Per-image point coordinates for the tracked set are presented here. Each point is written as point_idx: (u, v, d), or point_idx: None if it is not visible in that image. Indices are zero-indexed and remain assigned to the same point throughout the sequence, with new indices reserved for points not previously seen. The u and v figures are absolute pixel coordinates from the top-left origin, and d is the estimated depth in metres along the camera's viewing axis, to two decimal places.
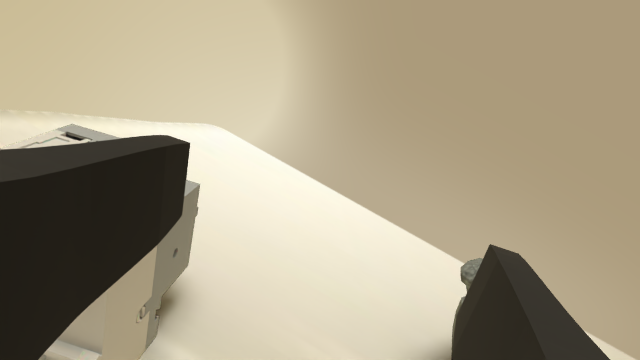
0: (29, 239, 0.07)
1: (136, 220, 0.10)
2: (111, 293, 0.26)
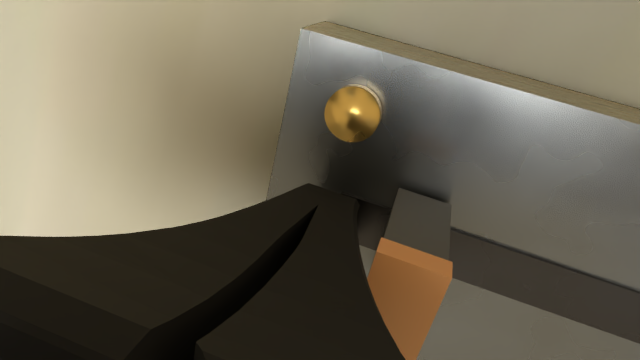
0: None
1: None
2: None
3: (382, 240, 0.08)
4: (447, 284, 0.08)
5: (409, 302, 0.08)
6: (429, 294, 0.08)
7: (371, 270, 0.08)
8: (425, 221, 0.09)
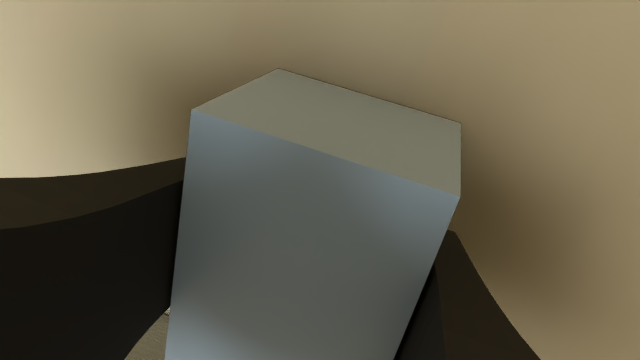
0: (105, 269, 0.07)
1: None
2: None
3: None
4: None
5: None
6: None
7: None
8: None
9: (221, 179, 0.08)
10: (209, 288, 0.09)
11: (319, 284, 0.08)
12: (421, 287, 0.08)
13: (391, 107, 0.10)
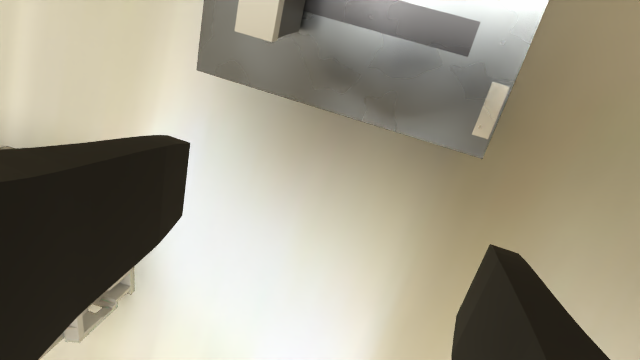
0: (29, 239, 0.07)
1: (136, 220, 0.10)
2: None
3: None
4: None
5: None
6: None
7: None
8: None
9: None
10: None
11: None
12: None
13: None
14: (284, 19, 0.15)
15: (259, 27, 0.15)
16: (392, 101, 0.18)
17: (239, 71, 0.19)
